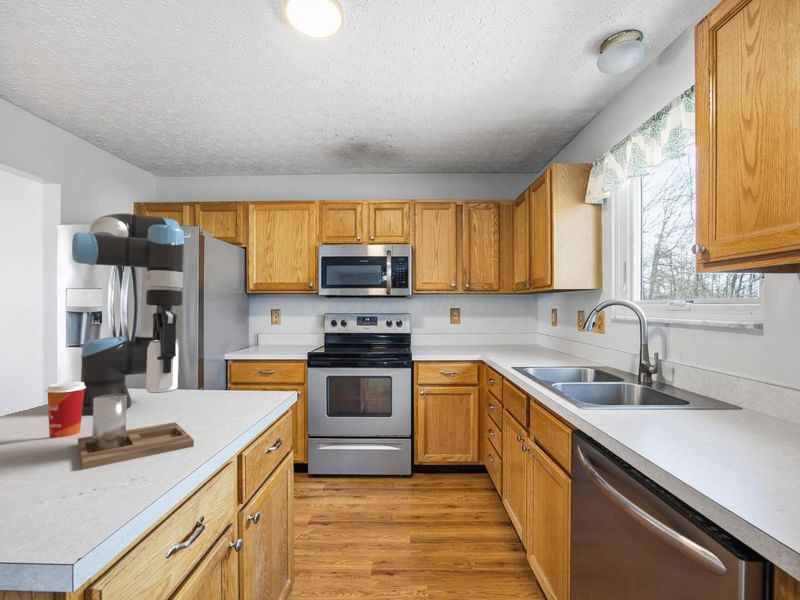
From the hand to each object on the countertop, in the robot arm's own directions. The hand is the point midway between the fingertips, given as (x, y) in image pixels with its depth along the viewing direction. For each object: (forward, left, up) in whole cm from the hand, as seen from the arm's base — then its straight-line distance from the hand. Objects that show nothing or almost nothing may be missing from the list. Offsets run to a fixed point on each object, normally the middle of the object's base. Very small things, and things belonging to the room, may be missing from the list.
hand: (162, 384), depth 93 cm
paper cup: (-21, -17, -15) cm, 31 cm away
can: (0, 0, -2) cm, 2 cm away
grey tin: (0, -10, -14) cm, 17 cm away
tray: (0, -5, -15) cm, 16 cm away
